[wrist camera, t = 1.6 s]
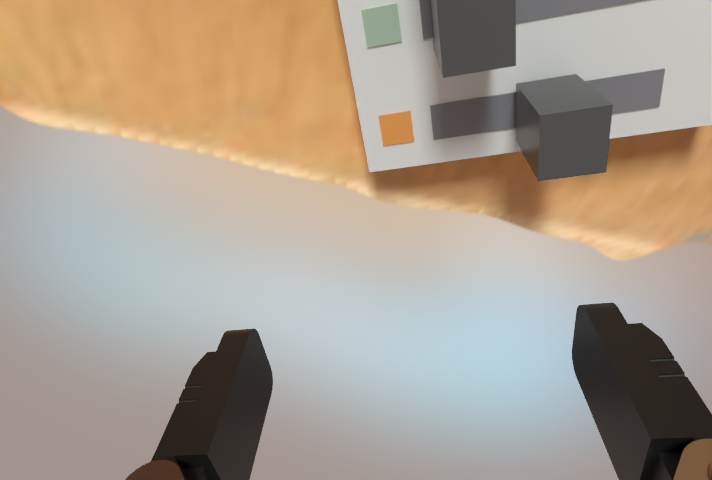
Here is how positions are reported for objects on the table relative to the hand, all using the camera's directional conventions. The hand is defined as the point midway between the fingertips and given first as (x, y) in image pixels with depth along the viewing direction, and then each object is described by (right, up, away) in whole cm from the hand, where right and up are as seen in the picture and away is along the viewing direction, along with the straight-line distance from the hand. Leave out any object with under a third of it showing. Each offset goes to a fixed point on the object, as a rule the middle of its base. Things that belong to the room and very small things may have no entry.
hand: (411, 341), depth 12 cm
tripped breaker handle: (+9, +10, +13) cm, 19 cm away
